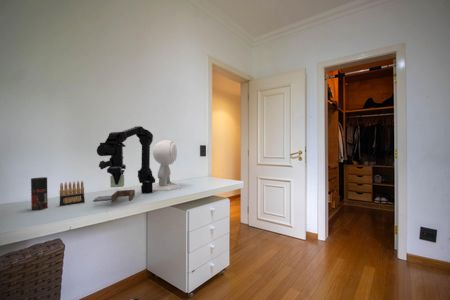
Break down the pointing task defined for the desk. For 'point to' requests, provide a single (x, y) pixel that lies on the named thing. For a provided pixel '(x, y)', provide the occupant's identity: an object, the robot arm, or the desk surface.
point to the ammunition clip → (71, 194)
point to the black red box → (39, 193)
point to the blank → (120, 184)
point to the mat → (102, 198)
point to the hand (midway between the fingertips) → (117, 184)
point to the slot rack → (123, 194)
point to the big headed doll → (165, 164)
